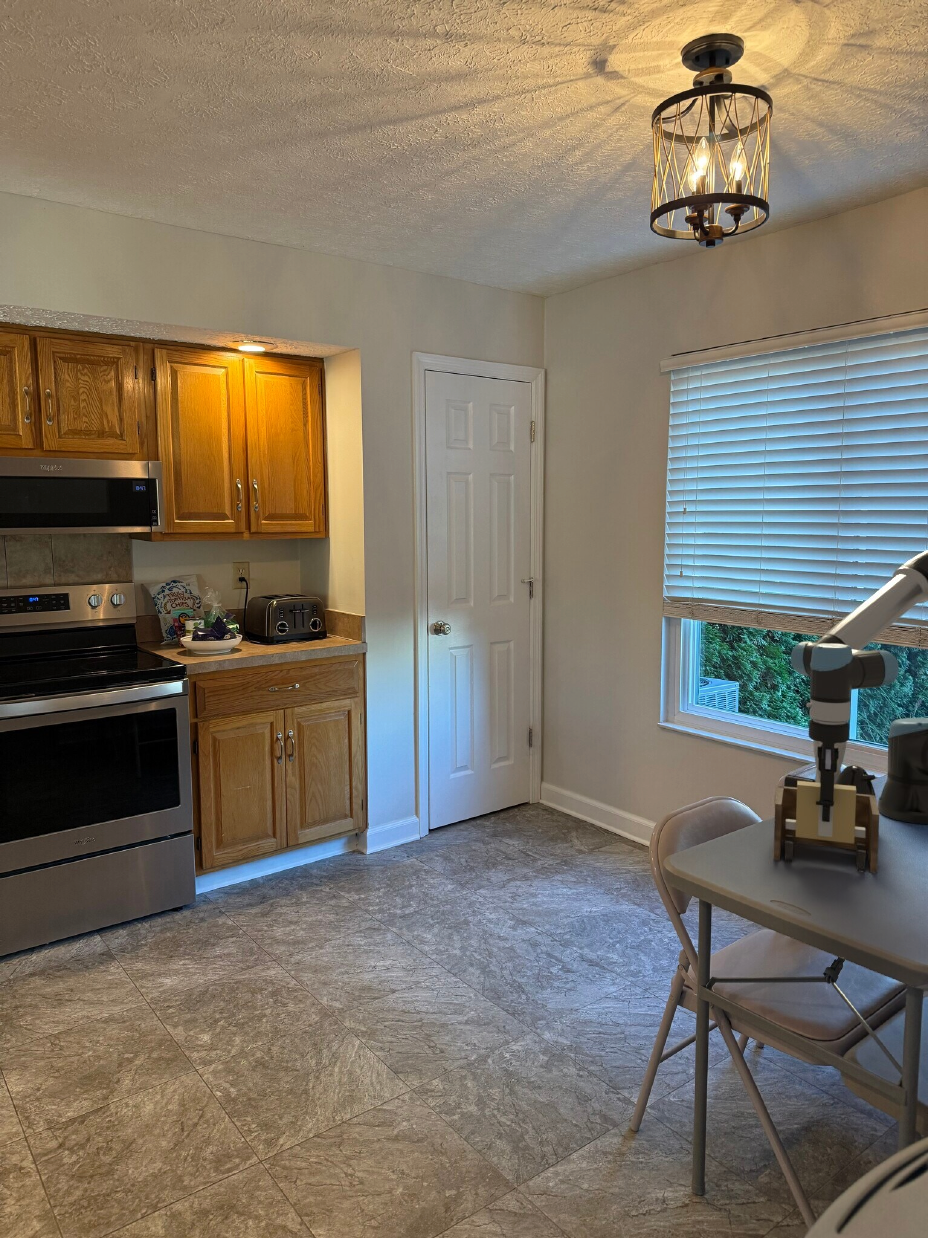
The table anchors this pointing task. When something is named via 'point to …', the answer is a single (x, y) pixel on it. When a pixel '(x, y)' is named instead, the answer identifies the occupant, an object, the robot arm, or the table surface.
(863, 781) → the pump dispenser
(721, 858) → the table surface
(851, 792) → the yellow rectangular block
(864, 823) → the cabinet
